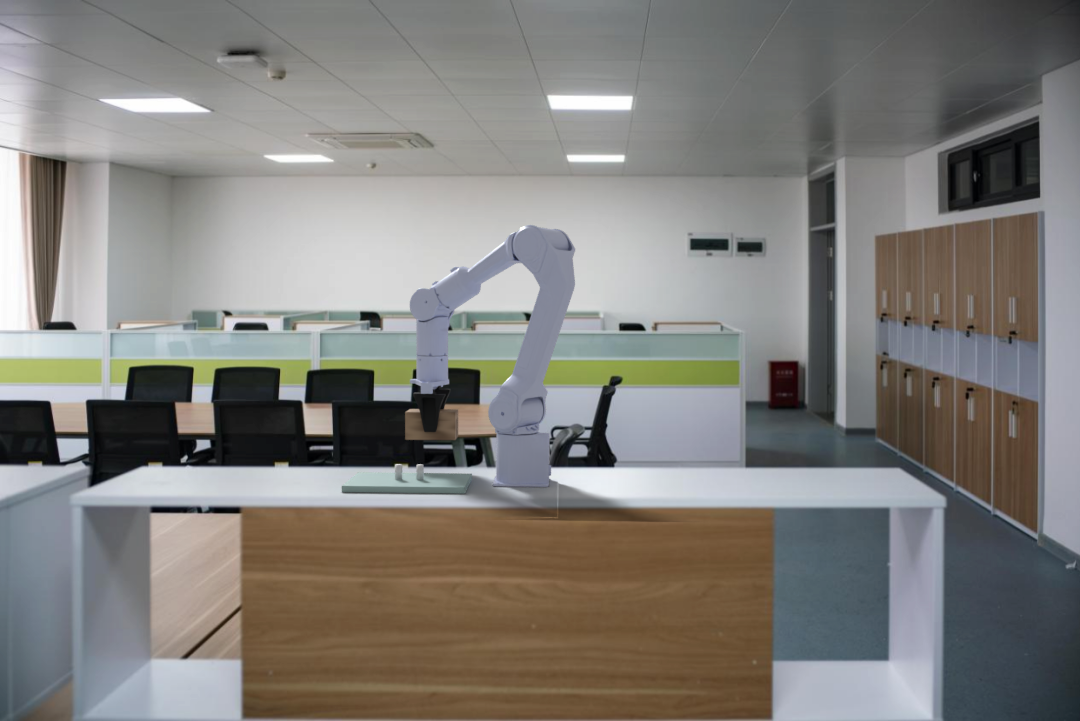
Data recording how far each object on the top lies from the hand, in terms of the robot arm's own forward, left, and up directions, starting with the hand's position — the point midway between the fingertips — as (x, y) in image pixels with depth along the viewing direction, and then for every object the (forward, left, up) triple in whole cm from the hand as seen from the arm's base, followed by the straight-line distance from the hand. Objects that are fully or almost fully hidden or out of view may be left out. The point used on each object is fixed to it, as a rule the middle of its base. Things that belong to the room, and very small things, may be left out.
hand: (432, 429), depth 162 cm
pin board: (+2, +13, -8) cm, 15 cm away
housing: (0, 0, -2) cm, 2 cm away
